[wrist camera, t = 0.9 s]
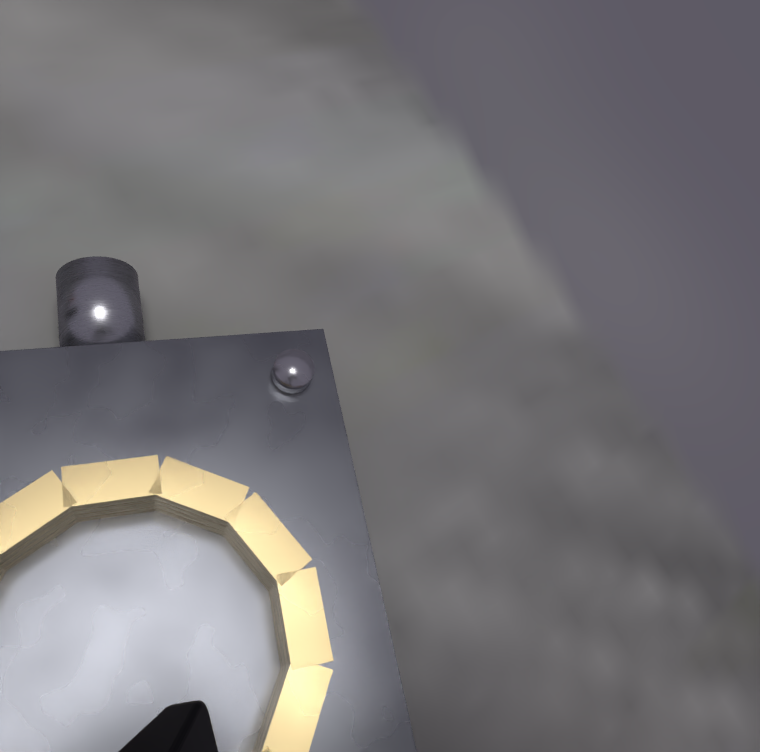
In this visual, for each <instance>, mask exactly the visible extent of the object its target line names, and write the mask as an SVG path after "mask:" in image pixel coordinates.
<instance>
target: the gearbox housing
mask: <svg viewBox="0 0 760 752" xmlns="http://www.w3.org/2000/svg"><path fill="white" fill-rule="evenodd" d="M56 291H57V307H58V324H59V341H60V347H54V348H39V349H25V350H10V351H0V752H118V751H119V750H120V749H121V748H123V747H124V746H125V745H126V744H127V743H128V742H129V741H130V740H131V739H132V738H133V737H134V736H136V735H137V734H138V733H139V732H140V731H141V730H142V729H143V728H144V727H145V726H146V725H147V724H149V723H150V722H151V721H152V720H153V719H154V718H155V717H156V716H157V715H158V714H159V713H160V712H162V711H163V710H164V709H165V708H166V707H167V706H169V705H172V704H177V703H183V702H190V701H196V700H201V701H202V702H204V703H205V705H206V706H207V708H208V711H209V715H210V719H211V723H212V728H213V732H214V736H215V740H216V744H217V748H218V752H417V751H416V746H415V742H414V737H413V733H412V728H411V724H410V719H409V715H408V710H407V706H406V701H405V697H404V692H403V688H402V683H401V678H400V674H399V669H398V665H397V660H396V656H395V651H394V647H393V642H392V638H391V633H390V629H389V624H388V620H387V615H386V611H385V606H384V602H383V597H382V593H381V588H380V583H379V579H378V574H377V570H376V565H375V561H374V556H373V552H372V547H371V543H370V538H369V534H368V529H367V525H366V520H365V516H364V511H363V507H362V502H361V498H360V493H359V489H358V484H357V479H356V475H355V470H354V466H353V461H352V457H351V452H350V448H349V443H348V439H347V434H346V430H345V425H344V421H343V416H342V412H341V407H340V403H339V398H338V394H337V389H336V384H335V380H334V375H333V371H332V366H331V362H330V357H329V353H328V348H327V344H326V339H325V335H324V330H323V329H316V330H301V331H287V332H272V333H258V334H243V335H228V336H214V337H199V338H185V339H170V340H156V341H145V336H144V327H143V318H142V309H141V300H140V291H139V282H138V274H137V272H136V270H135V269H134V268H133V267H132V266H131V265H129V264H127V263H126V262H123V261H121V260H118V259H114V258H109V257H85V258H80V259H76V260H73V261H71V262H68V263H67V264H65V265H63V266H62V267H61V268H60V269H59V270H58V272H57V274H56Z"/></svg>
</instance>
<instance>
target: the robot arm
mask: <svg viewBox="0 0 760 752" xmlns="http://www.w3.org/2000/svg"><path fill="white" fill-rule="evenodd" d="M118 752H218V748H217V744H216V740H215V736H214V732H213V728H212V723H211V719H210V715H209V711H208V708H207V706H206V705H205V703H204V702H202V701H201V700H196V701H190V702H183V703H177V704H172V705H169V706H167V707H166V708H165V709H164V710H163V711H162V712H160V713H159V714H158V715H157V716H156V717H155V718H154V719H153V720H152V721H151V722H150V723H149V724H147V725H146V726H145V727H144V728H143V729H142V730H141V731H140V732H139V733H138V734H137V735H136V736H134V737H133V738H132V739H131V740H130V741H129V742H128V743H127V744H126V745H125V746H124V747H123V748H121V749H120V750H119V751H118Z"/></svg>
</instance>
